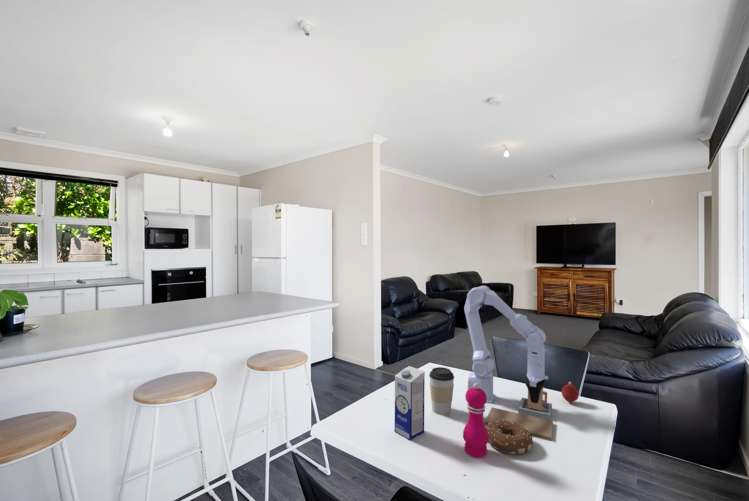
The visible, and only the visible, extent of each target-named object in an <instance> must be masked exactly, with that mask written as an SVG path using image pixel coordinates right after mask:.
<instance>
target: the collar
mask: <svg viewBox="0 0 749 501" xmlns="http://www.w3.org/2000/svg"><path fill="white" fill-rule="evenodd" d="M525 405H528V397H527V398H526V397H521V399H520V403H519V405H518V412H517V413H520V414H524V415H529V416H533V417H538V418H542V419H547V420H551V421H552V413H553V411H552V410H553V403H551V402H547V404H544V403H543V408H542V409H547V412H545V411H541V410H536V409H531V408H524V407H525Z"/></svg>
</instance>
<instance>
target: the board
mask: <svg viewBox="0 0 749 501" xmlns="http://www.w3.org/2000/svg"><path fill="white" fill-rule="evenodd" d="M488 412H489V413H488V414H487V417H486V418H485V419H484V424H485V426H488V424H489V423H490V422H493V421H498V420H506V421H507V420H508V421H511V422H515V423H519V424H520V425H522V426H523V427H525V428H526V429H527V430H528V431H529V432H530V434H531V436H532V437H535V438H539V439H543V440H547V441H550V442H551V441H552V439H553V438H552V437H553V428H554V420H552V419H551V420H547V419H543V418H538V417H534V416H529V415H525V414H520V413H518V412H515V411H510V410H506V409H501V408H497V407H494V406H493V407H491V408H490V410H489V411H488Z"/></svg>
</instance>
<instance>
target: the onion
mask: <svg viewBox="0 0 749 501" xmlns="http://www.w3.org/2000/svg"><path fill="white" fill-rule="evenodd" d="M561 395H562V398H563V399H564V400H565V401H567V402H568V403H569V404H571V403H574V402H576V401H577V400H578V399H579V396H580V394H579V390H578V389H577V387H576V386H575V385H573V382H572V381H569V382H568V383H567V384H564V385H563V387H562V388H561Z"/></svg>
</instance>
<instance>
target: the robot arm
mask: <svg viewBox="0 0 749 501" xmlns="http://www.w3.org/2000/svg"><path fill="white" fill-rule="evenodd" d="M483 305H486V306H492V307H494V308H495V309H496V310H498V312H500V313H501V314H502V315H503V316H505V317H506V318H507V319H508V320H509V324H510V325H509V326H511V327H512V328H513V329H514V330H516V332H517V333H519V335H521V336H522V337H523V338H525V342H526V344H527V362H526V363H527V364H526V366H527V369H526V370H527V372H526V377H527V379H528V381H527V380H526V381H525V386H526V388H527V391H528V390H529V394H530V399H531V402H533V403H538V400H539V395H540V391H541V389H542V388H543V389H544V384H545V382H546V380H549V376H548V375H545V371H546V370H545V367H546V366H545V362H546V360H545V359H546V357H545V356H546V354H545V352H546V351H545V349H546V348H545V344H544V343H545V342H546V339H547V335H546V333H545V332H544V331H543V329H541V328H539V327H538V326H537V325H534V324H533V323H532V322H531V321H530V320H529V319H528V316H526V315H525V314H524V315H523V314H522V313H516V312H515V311H514V310H513V309H512V308H511V307H510V306H509V305H508V304H507V303H506V302H505V301H504V300H503V299H502V298H501V297H500V296H499V295H498V294H497V293H496V292H495V291H494V290H491V289H490V287H489V286H487V285H480V286H477V287H476V286H475V287H472V288H471V289H470V290H469V291H468V293H467V294H466V300H465V304H464V306H463V309H464V314H465V318H466V324H467V328H468V332H469V335H470V336H469V337H470V342H471V344H472V349H473V354H472V367H471V368H472V371H473V372H470V373H469V374H468V378H467V390H468V389H470V388H473V384H474V383H478V384H479V388H480V389H482V390H483V391H484V392H485V393H486V396H487V402H486V403H490V404H492V403H493V401H494V399H495V398H496V394H495V393H494V372H493V370H494V369H495V367H496V363H495V360H494V359H493V357H492V355H491V352H490V351H489V350H488V348H487V343H486V338H485V334H484V331H483V326H482V321H481V318H480V317H481V316H480V313H479V310H480V308H482V306H483Z"/></svg>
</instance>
